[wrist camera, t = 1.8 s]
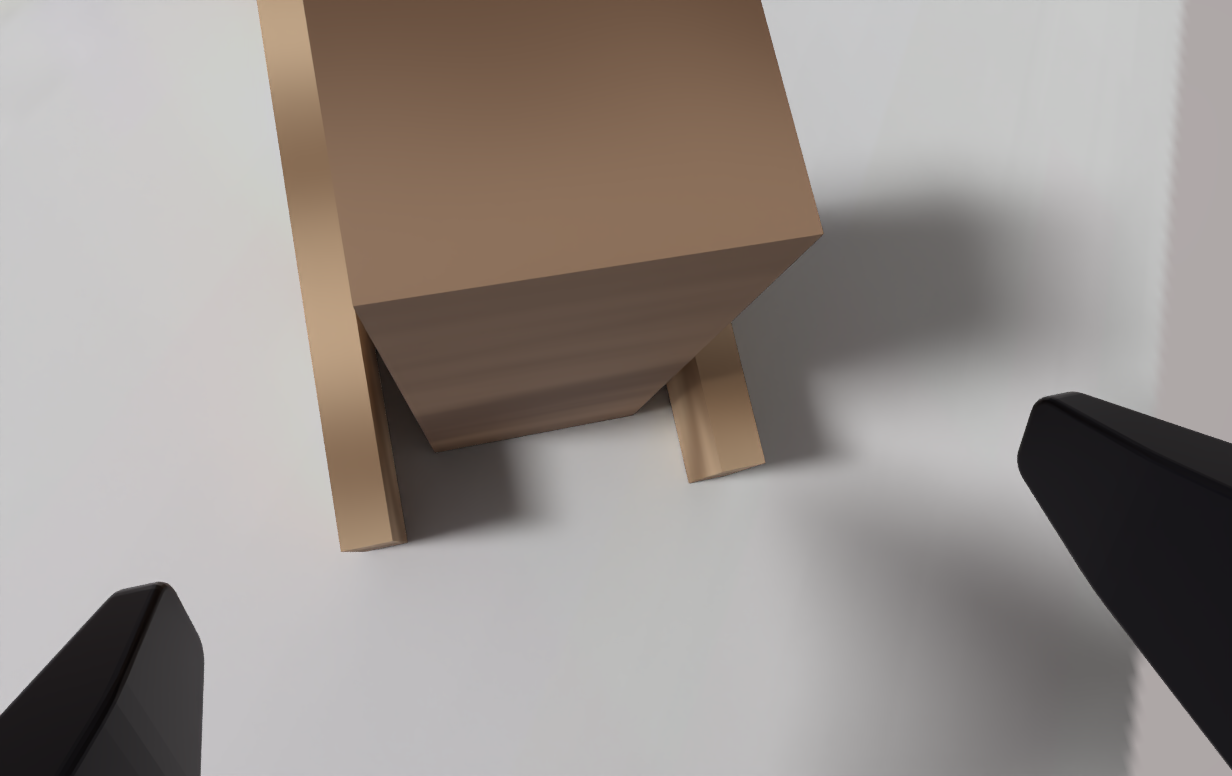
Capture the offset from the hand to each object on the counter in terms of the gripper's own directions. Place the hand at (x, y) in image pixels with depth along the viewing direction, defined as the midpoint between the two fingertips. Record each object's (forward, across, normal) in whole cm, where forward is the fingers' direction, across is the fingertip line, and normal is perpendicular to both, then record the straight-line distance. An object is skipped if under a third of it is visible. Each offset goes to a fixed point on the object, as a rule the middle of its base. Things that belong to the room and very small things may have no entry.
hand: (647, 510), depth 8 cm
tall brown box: (+12, 0, +5) cm, 13 cm away
